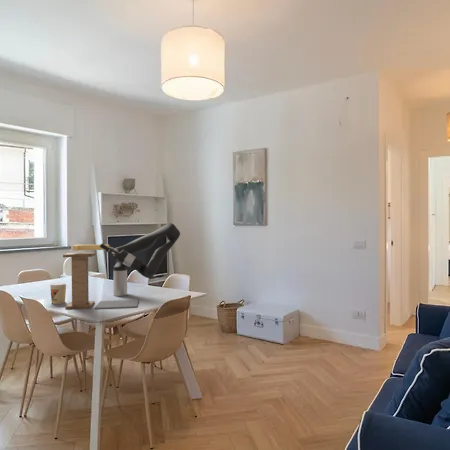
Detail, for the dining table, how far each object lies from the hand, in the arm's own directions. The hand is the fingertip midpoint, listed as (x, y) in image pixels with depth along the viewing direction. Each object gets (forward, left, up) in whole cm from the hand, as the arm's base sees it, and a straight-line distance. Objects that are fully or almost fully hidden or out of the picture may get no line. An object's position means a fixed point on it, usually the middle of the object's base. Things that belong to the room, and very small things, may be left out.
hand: (101, 244), depth 239 cm
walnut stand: (0, -13, -37) cm, 39 cm away
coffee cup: (-13, -29, -37) cm, 49 cm away
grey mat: (0, +9, -37) cm, 38 cm away
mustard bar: (0, -6, -3) cm, 6 cm away
